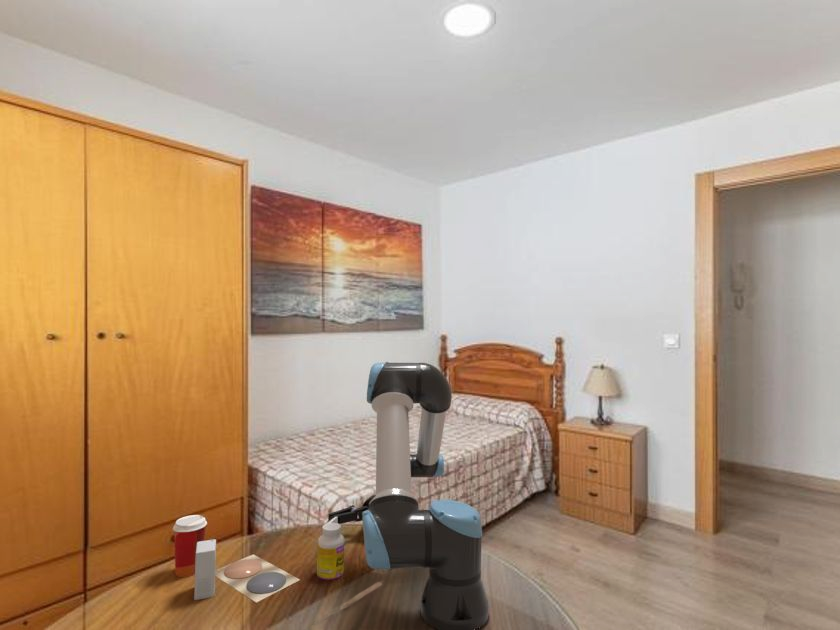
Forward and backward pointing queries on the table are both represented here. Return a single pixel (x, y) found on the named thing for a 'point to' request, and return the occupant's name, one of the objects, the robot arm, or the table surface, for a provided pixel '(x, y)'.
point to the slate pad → (266, 582)
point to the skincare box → (205, 569)
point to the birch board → (242, 583)
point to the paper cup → (187, 543)
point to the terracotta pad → (243, 569)
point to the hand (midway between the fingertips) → (347, 534)
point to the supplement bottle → (330, 552)
